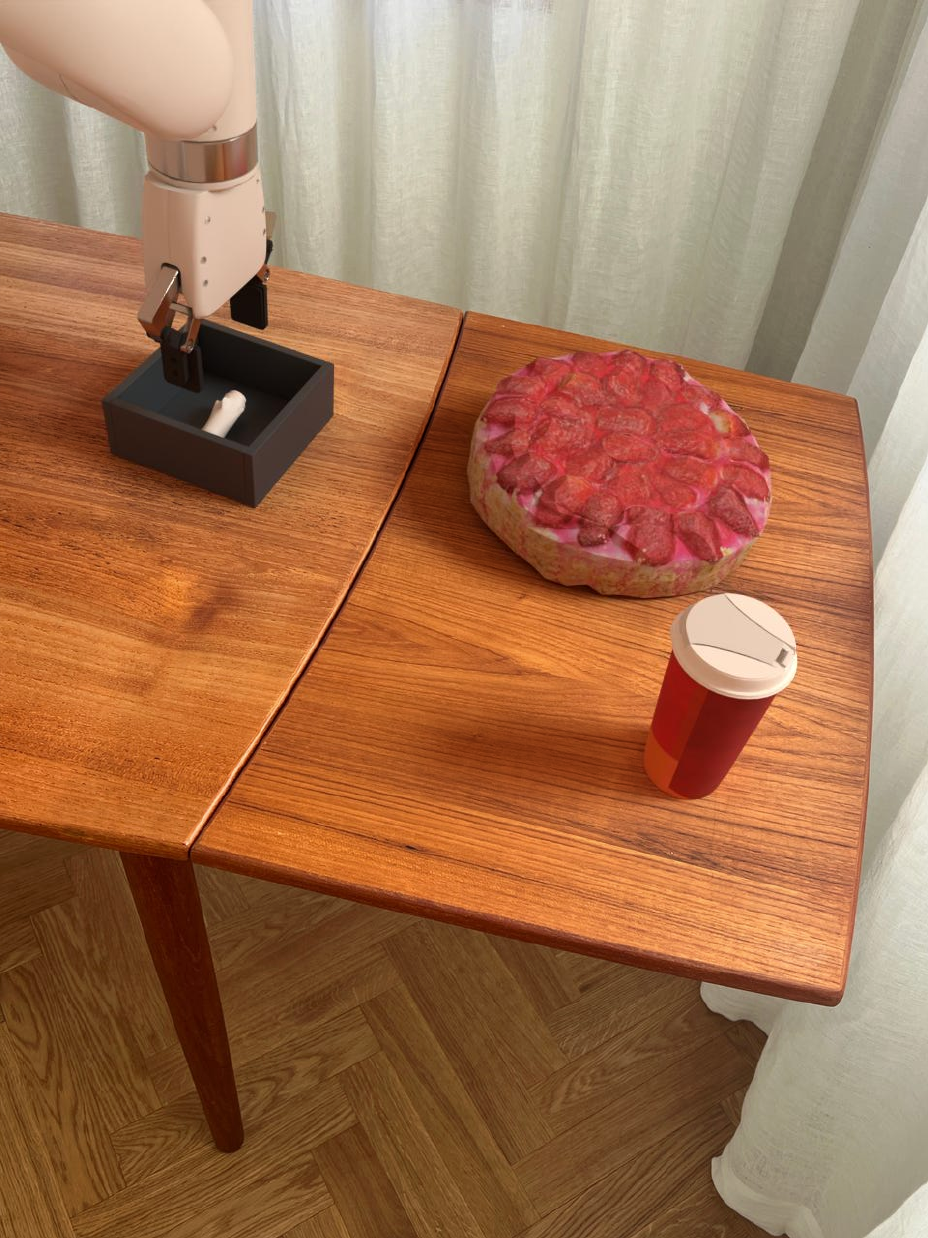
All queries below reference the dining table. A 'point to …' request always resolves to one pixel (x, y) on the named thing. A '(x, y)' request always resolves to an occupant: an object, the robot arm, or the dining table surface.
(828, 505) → the dining table surface
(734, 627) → the paper cup
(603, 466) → the cake
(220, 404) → the small white plastic part
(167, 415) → the bin
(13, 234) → the dining table surface
